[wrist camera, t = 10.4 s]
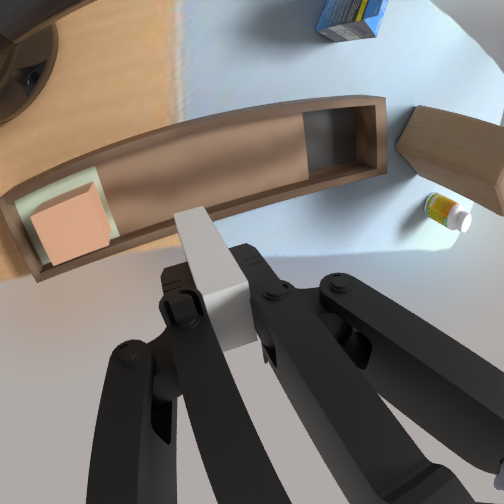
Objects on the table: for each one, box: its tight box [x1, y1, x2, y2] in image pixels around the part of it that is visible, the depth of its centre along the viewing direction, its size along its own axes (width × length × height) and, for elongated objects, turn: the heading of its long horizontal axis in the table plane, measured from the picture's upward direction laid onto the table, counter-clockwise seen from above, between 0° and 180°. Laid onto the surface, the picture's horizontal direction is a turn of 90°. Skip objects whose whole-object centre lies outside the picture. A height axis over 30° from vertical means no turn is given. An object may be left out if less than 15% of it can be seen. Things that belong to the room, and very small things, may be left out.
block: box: [396, 105, 504, 216], centre depth 35 cm, size 10×10×20 cm
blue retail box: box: [315, 0, 388, 43], centre depth 24 cm, size 9×4×12 cm, turn 160°
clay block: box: [30, 181, 112, 266], centre depth 27 cm, size 6×7×4 cm
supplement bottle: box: [424, 192, 472, 233], centre depth 48 cm, size 5×5×10 cm
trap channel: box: [0, 95, 387, 283], centre depth 32 cm, size 11×48×5 cm, turn 100°
